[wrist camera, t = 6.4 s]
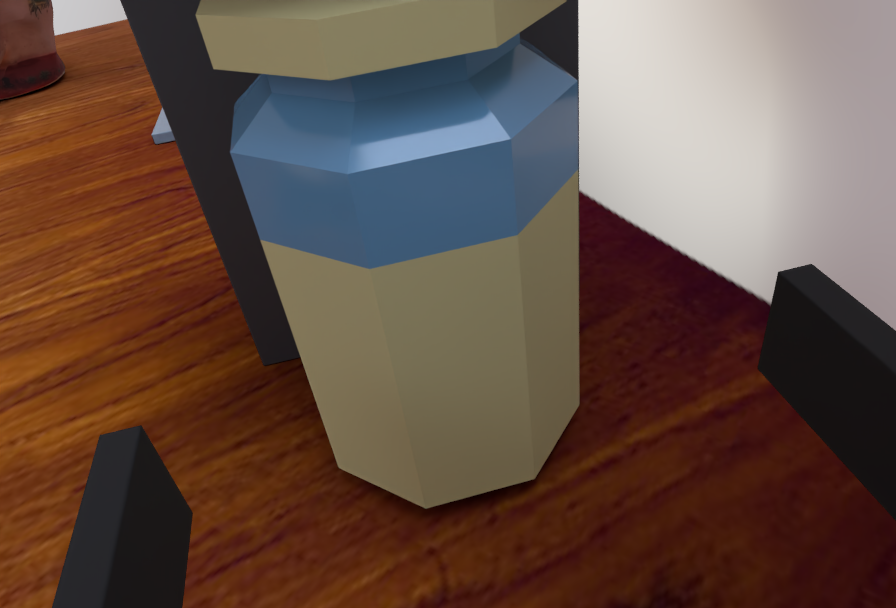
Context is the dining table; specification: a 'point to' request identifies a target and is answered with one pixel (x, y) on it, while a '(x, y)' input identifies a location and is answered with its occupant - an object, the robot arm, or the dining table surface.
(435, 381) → the jar
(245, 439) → the dining table surface
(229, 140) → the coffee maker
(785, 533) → the dining table surface
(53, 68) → the pink ceramic mug
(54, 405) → the dining table surface
